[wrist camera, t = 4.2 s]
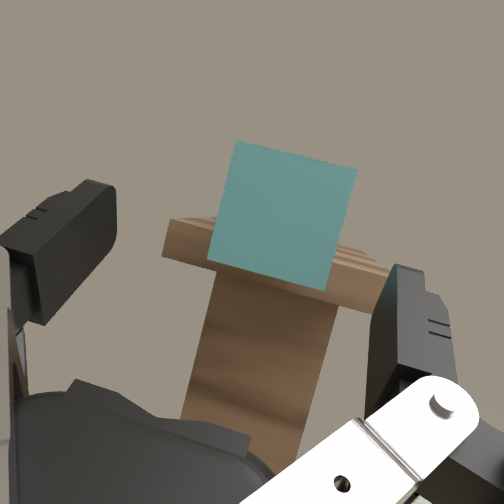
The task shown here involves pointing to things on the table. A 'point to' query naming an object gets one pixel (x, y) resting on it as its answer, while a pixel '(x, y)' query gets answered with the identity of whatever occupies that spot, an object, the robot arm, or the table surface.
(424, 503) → the table surface
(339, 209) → the teal bar
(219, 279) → the walnut stand
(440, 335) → the robot arm
